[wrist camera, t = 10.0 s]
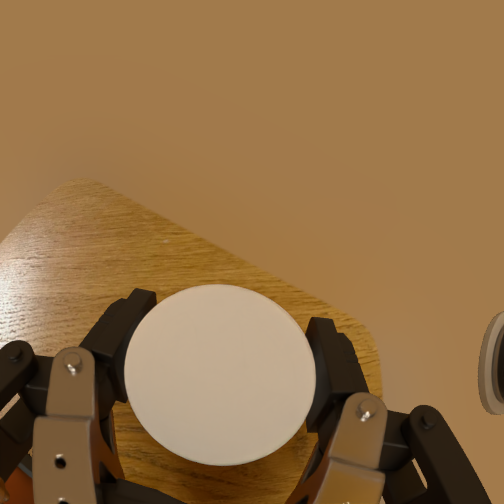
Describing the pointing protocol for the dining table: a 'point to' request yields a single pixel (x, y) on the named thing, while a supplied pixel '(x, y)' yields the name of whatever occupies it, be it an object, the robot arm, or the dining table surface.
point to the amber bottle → (20, 488)
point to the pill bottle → (220, 375)
